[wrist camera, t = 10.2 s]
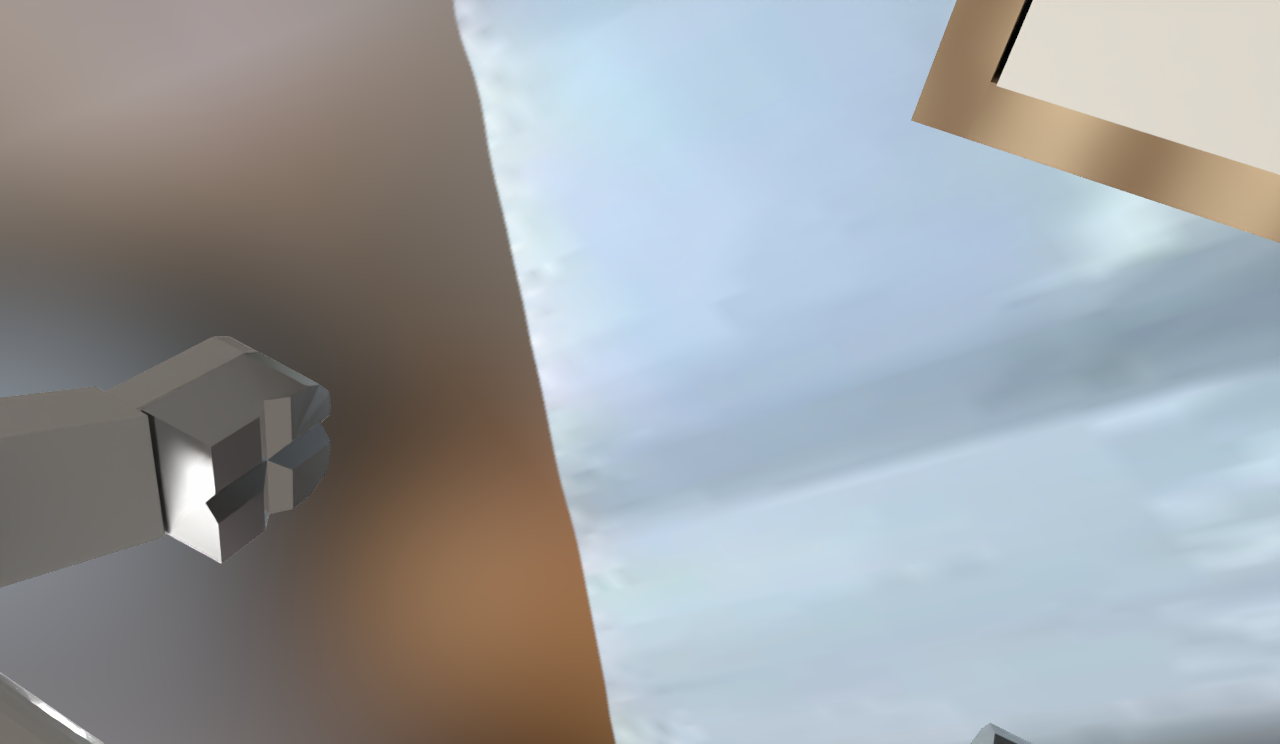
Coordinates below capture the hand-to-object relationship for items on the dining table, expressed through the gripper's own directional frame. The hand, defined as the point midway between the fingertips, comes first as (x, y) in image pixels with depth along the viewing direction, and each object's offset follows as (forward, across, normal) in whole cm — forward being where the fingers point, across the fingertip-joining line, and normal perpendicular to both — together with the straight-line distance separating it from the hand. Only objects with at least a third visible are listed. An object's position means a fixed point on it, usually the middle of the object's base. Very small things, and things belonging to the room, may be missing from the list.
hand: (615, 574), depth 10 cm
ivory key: (+30, -7, -3) cm, 31 cm away
